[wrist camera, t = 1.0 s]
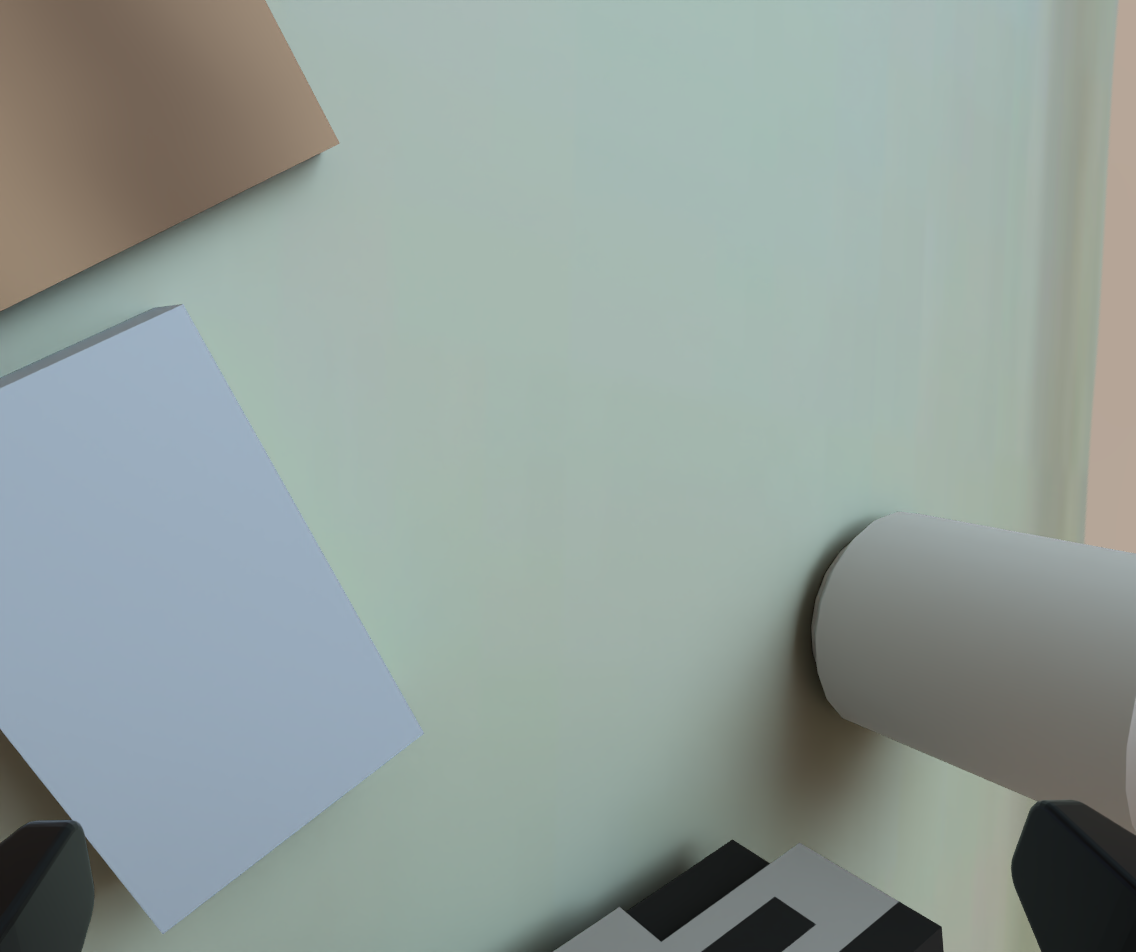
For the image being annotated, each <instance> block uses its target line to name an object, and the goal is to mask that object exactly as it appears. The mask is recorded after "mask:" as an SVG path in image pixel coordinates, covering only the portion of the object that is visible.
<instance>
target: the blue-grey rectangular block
mask: <svg viewBox="0 0 1136 952" xmlns="http://www.w3.org/2000/svg"><path fill="white" fill-rule="evenodd" d="M0 729H1V731H2V732H3V733H4V734H5V736H6V737H7V738H8V739H9V741H10V742H11V743H12V744H13V746H14V747H15V748H16V749H17V751H18V752H19V753H20V755H21V756H22V757H23V758H24V760H25V761H26V762H27V763H28V765H29V766H30V767H31V768H32V770H33V771H34V772H35V773H36V775H37V776H38V777H39V779H40V780H41V781H42V782H43V784H44V785H45V786H46V787H47V789H48V790H49V791H50V792H51V794H52V795H53V796H54V797H55V799H56V800H57V801H58V802H59V804H60V805H61V806H62V808H63V809H64V810H65V811H66V813H67V814H68V815H69V816H70V818H71V819H72V820H73V821H77V822H78V823H80V825H81V826H82V828H83V830H84V834H85V837H86V838H87V839H88V840H89V842H90V843H91V844H92V845H93V847H94V848H95V849H96V850H97V852H98V853H99V854H100V855H101V857H102V858H103V859H104V861H105V862H106V863H107V864H108V866H109V867H110V868H111V869H112V871H113V872H114V873H115V874H116V876H117V877H118V878H119V879H120V881H121V882H122V883H123V885H124V886H125V887H126V888H127V890H128V891H129V892H130V893H131V895H132V896H133V897H134V898H135V900H136V901H137V902H138V903H139V905H140V906H141V907H142V909H143V910H144V911H145V912H146V914H147V915H148V916H149V917H150V919H151V920H152V921H153V922H154V924H155V925H156V926H157V927H158V929H159V930H160V931H161V932H162V934H164V933H165V932H166V931H168V930H169V929H170V928H172V927H173V926H174V925H176V924H177V923H178V922H179V921H181V920H182V919H183V918H185V917H186V916H187V915H189V914H190V913H191V912H192V911H194V910H195V909H196V908H198V907H199V906H200V905H202V904H203V903H204V902H205V901H207V900H208V899H209V898H211V897H212V896H213V895H215V894H216V893H217V892H218V891H220V890H221V889H222V888H224V887H225V886H226V885H228V884H229V883H230V882H231V881H233V880H234V879H235V878H237V877H238V876H239V875H241V874H242V873H243V872H244V871H246V870H247V869H248V868H250V867H251V866H252V865H254V864H255V863H256V862H257V861H259V860H260V859H261V858H263V857H264V856H265V855H267V854H268V853H269V852H270V851H272V850H273V849H274V848H276V847H277V846H278V845H280V844H281V843H282V842H283V841H285V840H286V839H287V838H289V837H290V836H291V835H293V834H294V833H295V832H296V831H298V830H299V829H300V828H302V827H303V826H304V825H306V824H307V823H308V822H309V821H311V820H312V819H313V818H315V817H316V816H317V815H319V814H320V813H321V812H322V811H324V810H325V809H326V808H328V807H329V806H330V805H332V804H333V803H334V802H335V801H337V800H338V799H339V798H341V797H342V796H343V795H345V794H346V793H347V792H348V791H350V790H351V789H352V788H354V787H355V786H356V785H358V784H359V783H360V782H361V781H363V780H364V779H365V778H367V777H368V776H369V775H371V774H372V773H373V772H375V771H376V770H377V769H378V768H380V767H381V766H382V765H384V764H385V763H386V762H388V761H389V760H390V759H391V758H393V757H394V756H395V755H397V754H398V753H399V752H401V751H402V750H403V749H404V748H406V747H407V746H408V745H410V744H411V743H412V742H414V741H415V740H416V739H417V738H419V737H420V736H421V735H423V734H424V732H423V731H422V729H421V727H420V725H419V724H418V722H417V720H416V718H415V716H414V715H413V713H412V711H411V709H410V707H409V706H408V704H407V702H406V700H405V699H404V697H403V695H402V693H401V691H400V690H399V688H398V686H397V684H396V683H395V681H394V679H393V677H392V675H391V674H390V672H389V670H388V668H387V667H386V665H385V663H384V661H383V659H382V658H381V656H380V654H379V652H378V651H377V649H376V647H375V645H374V643H373V642H372V640H371V638H370V636H369V635H368V633H367V631H366V629H365V627H364V626H363V624H362V622H361V620H360V618H359V617H358V615H357V613H356V611H355V610H354V608H353V606H352V604H351V602H350V601H349V599H348V597H347V595H346V594H345V592H344V590H343V588H342V586H341V585H340V583H339V581H338V579H337V578H336V576H335V574H334V572H333V570H332V569H331V567H330V565H329V563H328V562H327V560H326V558H325V556H324V554H323V553H322V551H321V549H320V547H319V546H318V544H317V542H316V540H315V538H314V537H313V535H312V533H311V531H310V530H309V528H308V526H307V524H306V522H305V521H304V519H303V517H302V515H301V513H300V512H299V510H298V508H297V506H296V505H295V503H294V501H293V499H292V497H291V496H290V494H289V492H288V490H287V489H286V487H285V485H284V483H283V481H282V480H281V478H280V476H279V474H278V473H277V471H276V469H275V467H274V465H273V464H272V462H271V460H270V458H269V457H268V455H267V453H266V451H265V449H264V448H263V446H262V444H261V442H260V441H259V439H258V437H257V435H256V433H255V432H254V430H253V428H252V426H251V425H250V423H249V421H248V419H247V417H246V416H245V414H244V412H243V410H242V408H241V407H240V405H239V403H238V401H237V400H236V398H235V396H234V394H233V392H232V391H231V389H230V387H229V385H228V384H227V382H226V380H225V378H224V376H223V375H222V373H221V371H220V369H219V368H218V366H217V364H216V362H215V360H214V359H213V357H212V355H211V353H210V352H209V350H208V348H207V346H206V344H205V343H204V341H203V339H202V337H201V336H200V334H199V332H198V330H197V328H196V327H195V325H194V323H193V321H192V320H191V318H190V316H189V314H188V312H187V311H186V309H185V307H184V305H183V304H181V305H173V306H164V307H156V308H153V309H150V310H148V311H146V312H144V313H142V314H139V315H137V316H135V317H133V318H131V319H128V320H126V321H124V322H122V323H120V324H117V325H115V326H113V327H111V328H109V329H106V330H104V331H102V332H100V333H98V334H95V335H93V336H91V337H89V338H87V339H84V340H82V341H80V342H78V343H76V344H73V345H71V346H69V347H67V348H65V349H63V350H60V351H58V352H56V353H54V354H52V355H49V356H47V357H45V358H43V359H41V360H38V361H36V362H34V363H32V364H30V365H27V366H25V367H23V368H21V369H19V370H16V371H14V372H12V373H10V374H8V375H5V376H3V377H1V378H0Z"/></svg>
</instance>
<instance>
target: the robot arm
mask: <svg viewBox="0 0 1136 952" xmlns="http://www.w3.org/2000/svg"><path fill="white" fill-rule="evenodd" d="M1011 871H1012V879H1013V883H1014V886H1015V889H1016V892H1017V894H1018V896H1019V899H1020V901H1021V904H1022V906H1023V908H1024V911H1025V913H1026V916H1027V918H1028V921H1029V923H1030V925H1031V928H1032V930H1033V933H1034V935H1035V937H1036V940H1037V942H1038V945H1039V947H1040V950H1041V952H1136V835H1135V834H1133V833H1131V832H1130V831H1128V830H1126V829H1125V828H1123V827H1122V826H1120V825H1118V824H1117V823H1115V822H1114V821H1112V820H1110V819H1109V818H1107V817H1105V816H1104V815H1102V814H1101V813H1099V812H1097V811H1096V810H1094V809H1093V808H1091V807H1089V806H1088V805H1086V804H1084V803H1082V802H1080V801H1077V800H1042V801H1038V802H1037V803H1036V804H1034V805H1033V806H1032V807H1031V809H1030V811H1029V814H1028V816H1027V819H1026V822H1025V825H1024V827H1023V830H1022V833H1021V836H1020V838H1019V841H1018V844H1017V847H1016V849H1015V852H1014V855H1013V858H1012V865H1011ZM93 906H94V884H93V878H92V872H91V867H90V861H89V856H88V850H87V844H86V839H85V834H84V830H83V828H82V826H81V825H80V823H78V822H77V821H73V820H47V821H33V822H29V823H27V824H25V825H23V826H22V827H20V828H19V829H18V830H16V831H15V832H14V833H13V834H11V835H10V836H9V837H8V838H6V839H5V840H4V841H3V842H1V843H0V952H81V951H82V948H83V944H84V941H85V937H86V934H87V930H88V927H89V923H90V920H91V916H92V911H93Z"/></svg>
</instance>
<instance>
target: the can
mask: <svg viewBox="0 0 1136 952" xmlns="http://www.w3.org/2000/svg"><path fill="white" fill-rule="evenodd" d="M811 632H812V649H813V655H814V658H815V661H816V664H817V672H818V675H819V678H820V681H821V684H822V686H823V689H824V692H825V695H826V698H827V700H828V701H829V703H830V704H831V705H832V706H833V707H834V709H835V710H836V711H837V712H838V713H839V715H840V716H841V717H842V718H843V719H846V720H848V721H850V722H853V723H855V724H857V725H860V726H862V727H865V728H867V729H869V730H872V731H874V732H876V733H879V734H881V735H883V736H886V737H888V738H890V739H893V740H895V741H897V742H900V743H902V744H904V745H907V746H909V747H911V748H914V749H916V750H918V751H921V752H923V753H926V754H928V755H930V756H933V757H935V758H937V759H940V760H942V761H944V762H947V763H949V764H951V765H954V766H956V767H958V768H961V769H963V770H965V771H968V772H970V773H972V774H975V775H977V776H979V777H982V778H984V779H987V780H989V781H991V782H994V783H996V784H998V785H1001V786H1003V787H1005V788H1008V789H1010V790H1012V791H1015V792H1017V793H1019V794H1022V795H1024V796H1026V797H1029V798H1031V799H1033V800H1036V801H1042V800H1077V801H1080V802H1082V803H1084V804H1086V805H1088V806H1089V807H1091V808H1093V809H1094V810H1096V811H1097V812H1099V813H1101V814H1102V815H1104V816H1105V817H1107V818H1109V819H1110V820H1112V821H1114V822H1115V823H1117V824H1118V825H1120V826H1122V827H1123V828H1125V829H1126V830H1128V831H1130V832H1131V833H1133V834H1135V835H1136V554H1134V553H1129V552H1124V551H1119V550H1113V549H1107V548H1102V547H1097V546H1091V545H1086V544H1080V543H1075V542H1070V541H1064V540H1059V539H1053V538H1048V537H1042V536H1037V535H1032V534H1026V533H1021V532H1015V531H1010V530H1004V529H999V528H994V527H988V526H983V525H977V524H972V523H966V522H961V521H956V520H950V519H945V518H939V517H934V516H928V515H923V514H917V513H907V512H898V511H897V512H895V513H892V514H889V515H887V516H884V517H882V518H879V519H876V520H874V521H873V522H872V523H871V524H870V525H869V526H868V527H866V528H865V529H864V530H863V531H862V532H861V533H860V534H858V535H857V536H856V537H855V538H854V539H853V540H852V541H851V542H850V543H849V544H848V545H847V546H846V547H845V548H843V549H842V550H841V551H840V552H839V554H838V555H837V557H836V558H835V560H834V561H833V563H832V564H831V566H830V567H829V569H828V570H827V572H826V573H825V576H824V579H823V581H822V584H821V587H820V589H819V592H818V594H817V597H816V600H815V606H814V612H813V619H812V625H811Z"/></svg>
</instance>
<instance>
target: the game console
mask: <svg viewBox="0 0 1136 952" xmlns="http://www.w3.org/2000/svg"><path fill="white" fill-rule="evenodd" d="M553 952H943V939H942V927H941V926H939V925H938V924H936V923H934V922H933V921H931V920H929V919H928V918H926V917H924V916H922V915H921V914H919V913H917V912H916V911H914V910H912V909H911V908H909V907H907V906H906V905H904V904H902V903H901V902H899V901H897V900H896V899H894V898H892V897H890V896H889V895H887V894H885V893H884V892H882V891H880V890H879V889H877V888H875V887H874V886H872V885H870V884H869V883H867V882H865V881H864V880H862V879H860V878H858V877H857V876H855V875H853V874H852V873H850V872H848V871H847V870H845V869H843V868H842V867H840V866H838V865H837V864H835V863H833V862H831V861H830V860H828V859H826V858H825V857H823V856H821V855H820V854H818V853H816V852H815V851H813V850H811V849H810V848H808V847H806V846H805V845H803V844H801V843H798V844H797V845H795V846H794V847H793V848H791V849H790V850H788V851H787V852H786V853H784V854H783V855H782V856H780V857H779V858H777V859H776V860H775V861H773V862H772V863H768V862H767V861H765V860H764V859H762V858H760V857H759V856H757V855H756V854H754V853H753V852H751V851H749V850H748V849H746V848H745V847H743V846H742V845H740V844H739V843H737V842H735V841H734V840H731V841H730V842H728V843H727V844H725V845H724V846H722V847H721V848H719V849H718V850H716V851H715V852H713V853H712V854H710V855H709V856H707V857H706V858H705V859H703V860H702V861H700V862H699V863H697V864H696V865H694V866H693V867H691V868H690V869H688V870H687V871H685V872H684V873H682V874H681V875H680V876H678V877H677V878H675V879H674V880H672V881H671V882H669V883H668V884H666V885H665V886H663V887H662V888H660V889H659V890H657V891H656V892H655V893H653V894H652V895H650V896H649V897H647V898H646V899H644V900H643V901H641V902H640V903H638V904H637V905H635V906H634V907H633V908H631V909H630V910H628V911H627V912H625V911H624V910H623V909H621V908H620V907H618V908H617V909H616V910H614V911H613V912H611V913H610V914H608V915H607V916H605V917H604V918H602V919H601V920H599V921H598V922H596V923H595V924H593V925H592V926H590V927H589V928H587V929H586V930H584V931H583V932H581V933H580V934H578V935H577V936H575V937H574V938H572V939H571V940H569V941H568V942H566V943H565V944H564V945H562V946H561V947H559V948H558V949H556V950H555V951H553Z"/></svg>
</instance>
